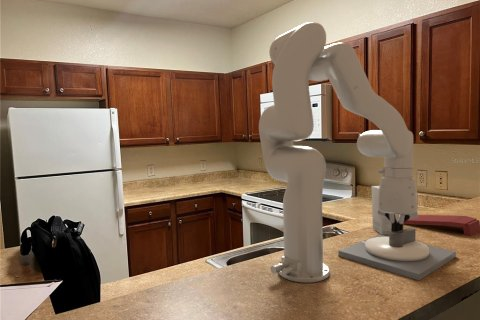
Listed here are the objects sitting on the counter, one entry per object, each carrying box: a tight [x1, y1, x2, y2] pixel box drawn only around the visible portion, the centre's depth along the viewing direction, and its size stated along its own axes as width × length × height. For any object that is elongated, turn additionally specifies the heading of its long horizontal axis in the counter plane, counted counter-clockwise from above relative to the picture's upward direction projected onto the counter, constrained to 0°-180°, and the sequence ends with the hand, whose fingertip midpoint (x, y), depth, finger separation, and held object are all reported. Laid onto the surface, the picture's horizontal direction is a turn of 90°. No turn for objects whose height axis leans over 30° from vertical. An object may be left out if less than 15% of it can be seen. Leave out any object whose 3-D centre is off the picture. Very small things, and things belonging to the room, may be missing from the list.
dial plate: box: [338, 233, 457, 281], centre depth 94 cm, size 22×22×2 cm
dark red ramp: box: [399, 214, 480, 237], centre depth 123 cm, size 12×5×25 cm
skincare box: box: [371, 185, 400, 236], centre depth 117 cm, size 8×7×16 cm
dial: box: [365, 227, 429, 261], centre depth 94 cm, size 16×16×5 cm
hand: (397, 236), depth 99 cm, fingers closed
